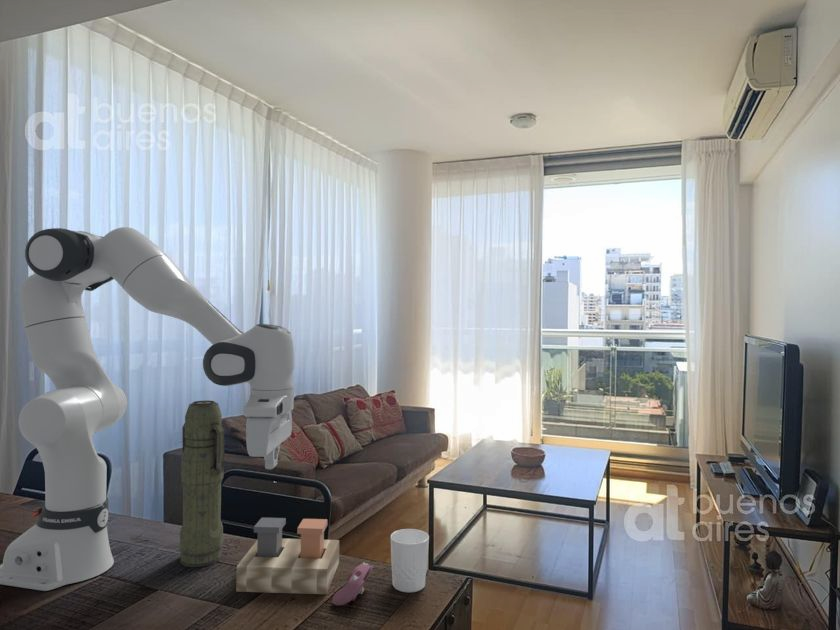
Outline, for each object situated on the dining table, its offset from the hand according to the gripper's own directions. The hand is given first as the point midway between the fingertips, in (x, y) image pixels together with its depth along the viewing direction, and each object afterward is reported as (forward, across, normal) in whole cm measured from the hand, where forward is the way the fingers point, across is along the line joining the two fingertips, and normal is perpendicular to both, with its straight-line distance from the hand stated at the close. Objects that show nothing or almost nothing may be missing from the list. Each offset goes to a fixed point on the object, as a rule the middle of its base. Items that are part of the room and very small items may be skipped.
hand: (271, 467), depth 117 cm
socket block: (+23, 0, +4) cm, 23 cm away
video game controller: (+23, +7, +19) cm, 31 cm away
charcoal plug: (+18, 0, 0) cm, 18 cm away
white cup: (+23, +2, +29) cm, 37 cm away
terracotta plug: (+18, 0, +9) cm, 20 cm away
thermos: (+23, -7, -18) cm, 30 cm away
